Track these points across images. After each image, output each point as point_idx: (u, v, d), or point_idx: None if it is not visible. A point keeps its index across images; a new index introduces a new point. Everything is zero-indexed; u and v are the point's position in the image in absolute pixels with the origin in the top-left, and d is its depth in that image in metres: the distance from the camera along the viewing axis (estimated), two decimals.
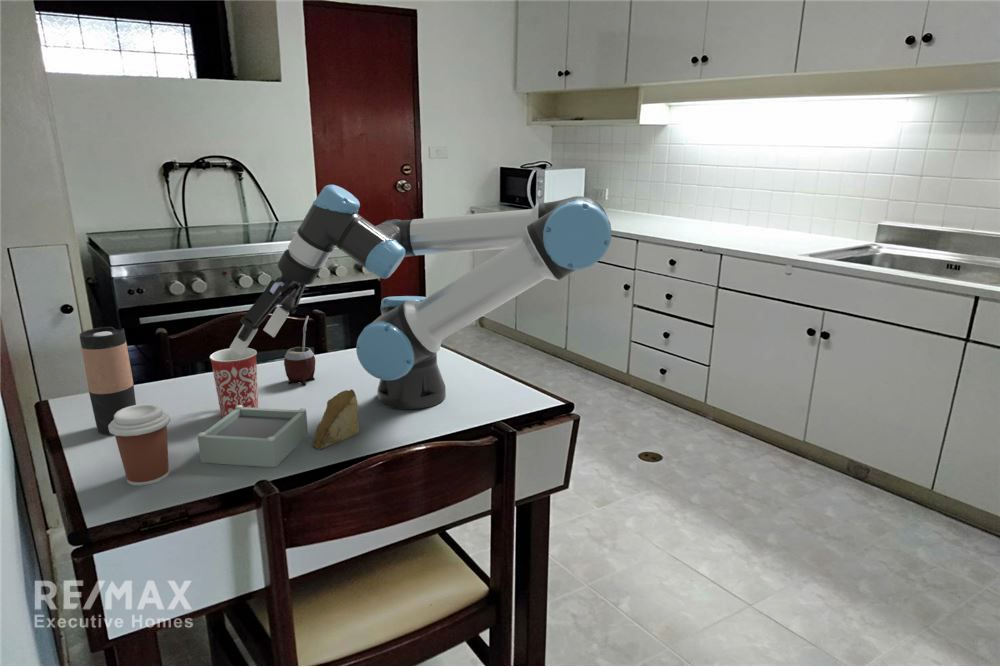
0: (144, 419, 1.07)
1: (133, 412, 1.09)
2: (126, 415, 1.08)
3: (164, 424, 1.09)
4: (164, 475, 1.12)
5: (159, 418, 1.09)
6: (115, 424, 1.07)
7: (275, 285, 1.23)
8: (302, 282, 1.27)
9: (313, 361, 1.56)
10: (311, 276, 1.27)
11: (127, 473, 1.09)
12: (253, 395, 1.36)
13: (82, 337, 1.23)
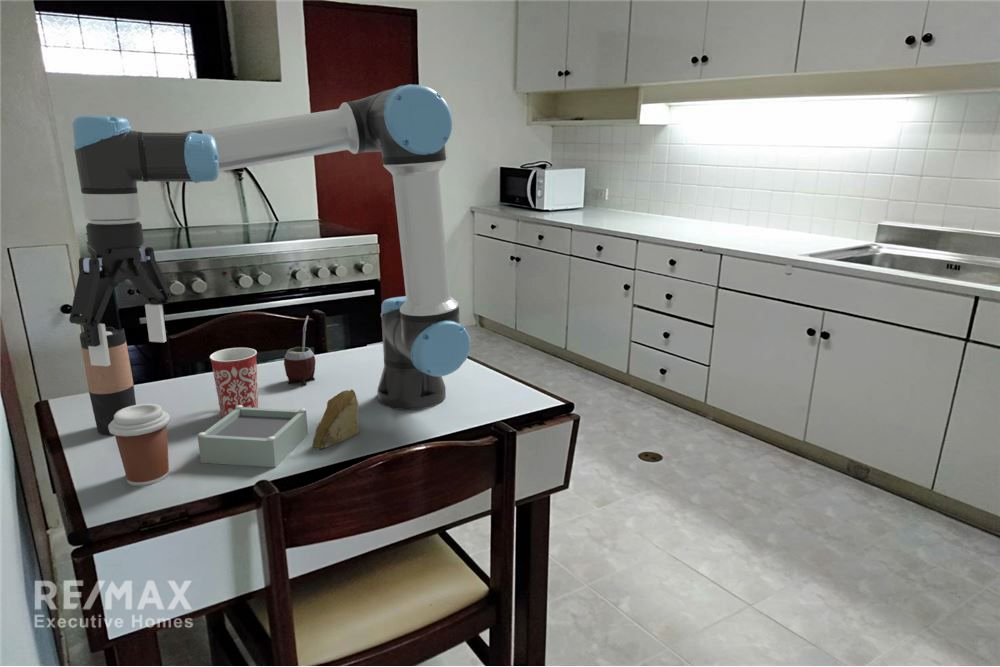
0: (144, 419, 1.07)
1: (133, 412, 1.09)
2: (126, 415, 1.08)
3: (164, 424, 1.09)
4: (164, 475, 1.12)
5: (159, 418, 1.09)
6: (115, 424, 1.07)
7: (85, 260, 0.97)
8: (122, 245, 1.00)
9: (313, 361, 1.56)
10: (127, 233, 1.00)
11: (127, 473, 1.09)
12: (253, 395, 1.36)
13: (82, 337, 1.23)
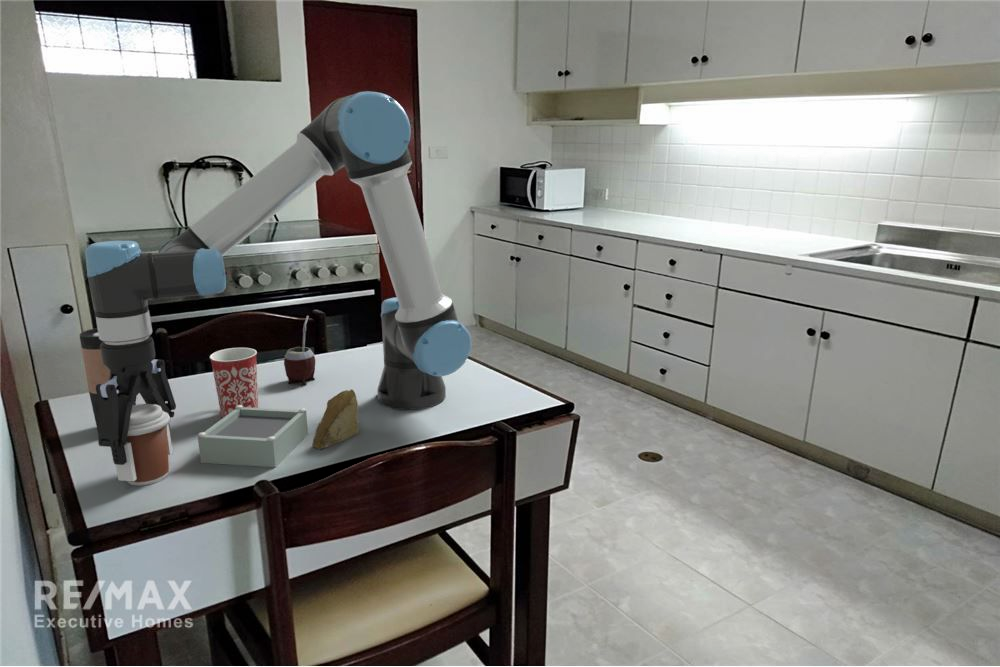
0: (144, 419, 1.07)
1: (133, 412, 1.09)
2: None
3: (164, 424, 1.09)
4: (164, 475, 1.12)
5: (159, 418, 1.09)
6: None
7: (102, 388, 1.01)
8: (135, 363, 1.04)
9: (313, 361, 1.56)
10: (140, 351, 1.04)
11: None
12: (253, 395, 1.36)
13: (82, 337, 1.23)
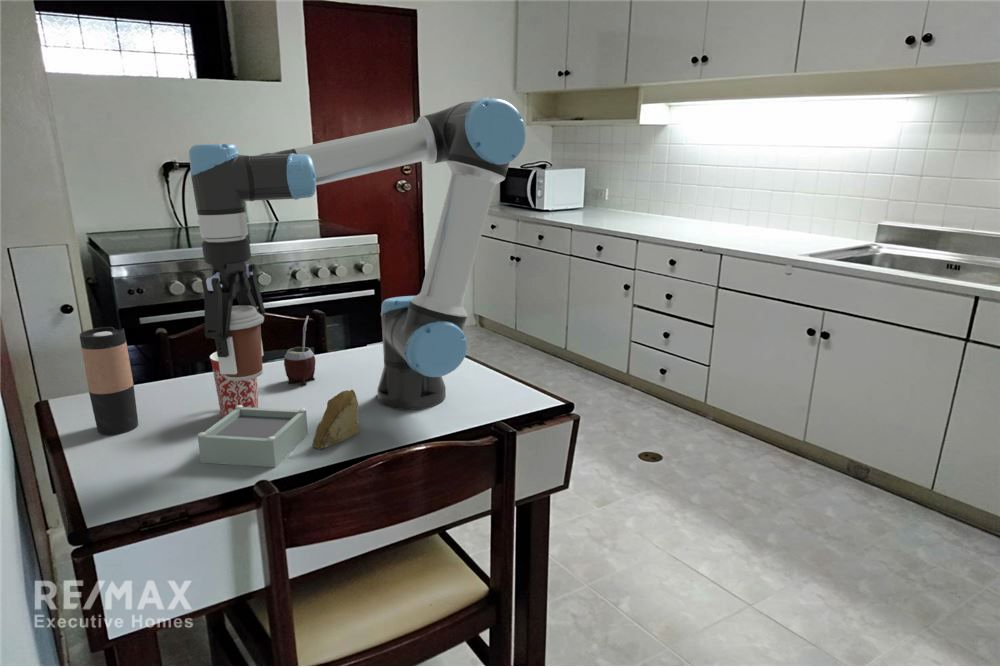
0: (243, 315, 1.13)
1: None
2: None
3: (260, 321, 1.15)
4: (259, 372, 1.18)
5: (255, 316, 1.15)
6: None
7: (208, 281, 1.07)
8: (236, 260, 1.10)
9: (313, 361, 1.56)
10: (240, 248, 1.10)
11: None
12: (253, 395, 1.36)
13: (82, 337, 1.23)
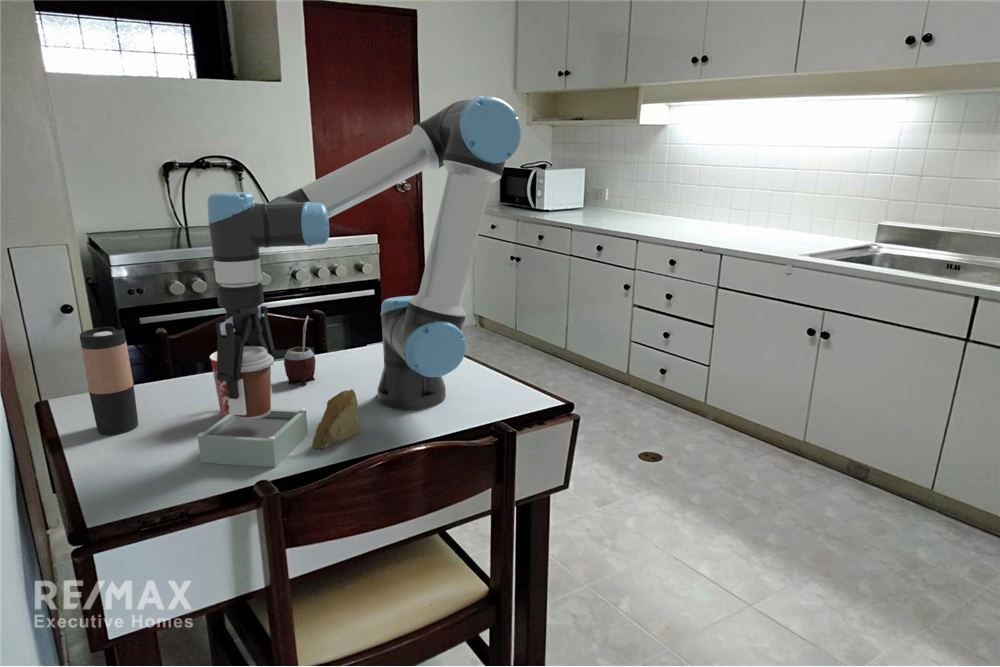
0: (254, 357, 1.16)
1: None
2: None
3: (270, 363, 1.18)
4: (268, 412, 1.20)
5: (266, 358, 1.18)
6: None
7: (221, 326, 1.10)
8: (249, 305, 1.13)
9: (313, 361, 1.56)
10: (254, 294, 1.13)
11: None
12: None
13: (82, 337, 1.23)
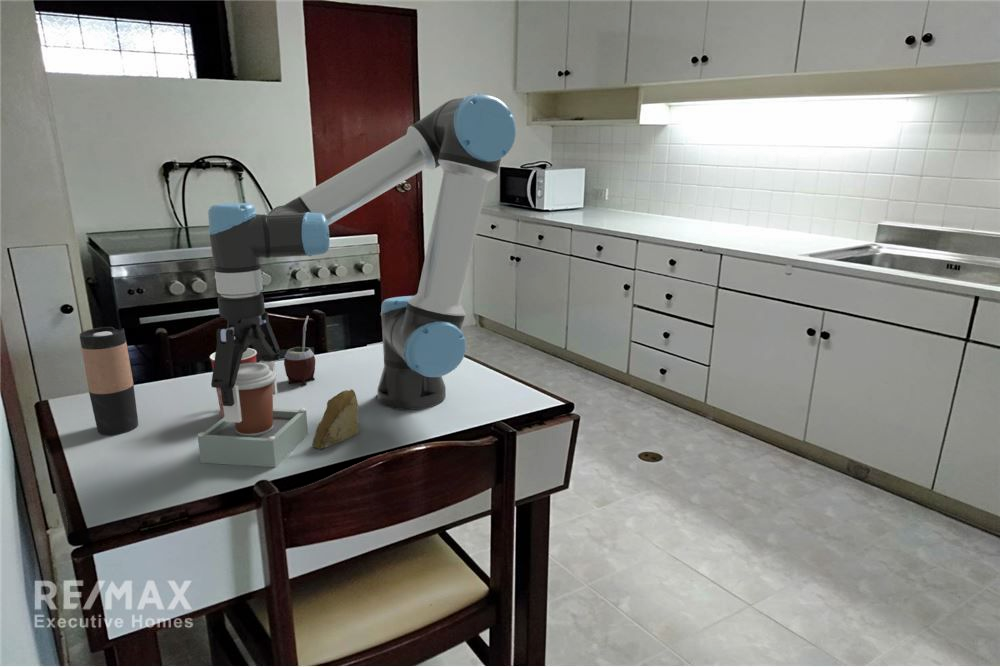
0: (256, 375, 1.16)
1: (244, 369, 1.19)
2: (238, 371, 1.18)
3: (272, 380, 1.19)
4: (270, 428, 1.21)
5: (268, 374, 1.19)
6: None
7: (222, 332, 1.10)
8: (250, 315, 1.13)
9: (313, 361, 1.56)
10: (255, 304, 1.14)
11: (238, 425, 1.19)
12: None
13: (82, 337, 1.23)
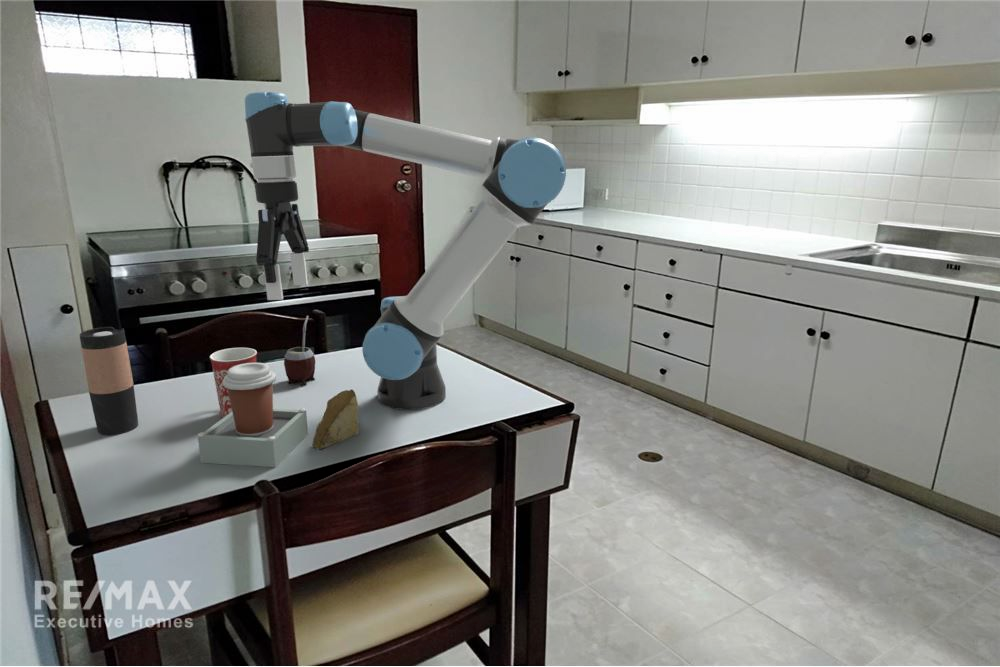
0: (256, 375, 1.16)
1: (244, 369, 1.19)
2: (238, 372, 1.18)
3: (272, 380, 1.19)
4: (270, 428, 1.21)
5: (268, 375, 1.18)
6: (230, 379, 1.16)
7: (264, 211, 1.18)
8: (287, 198, 1.21)
9: (313, 361, 1.56)
10: (291, 188, 1.22)
11: (238, 425, 1.19)
12: None
13: (82, 337, 1.23)
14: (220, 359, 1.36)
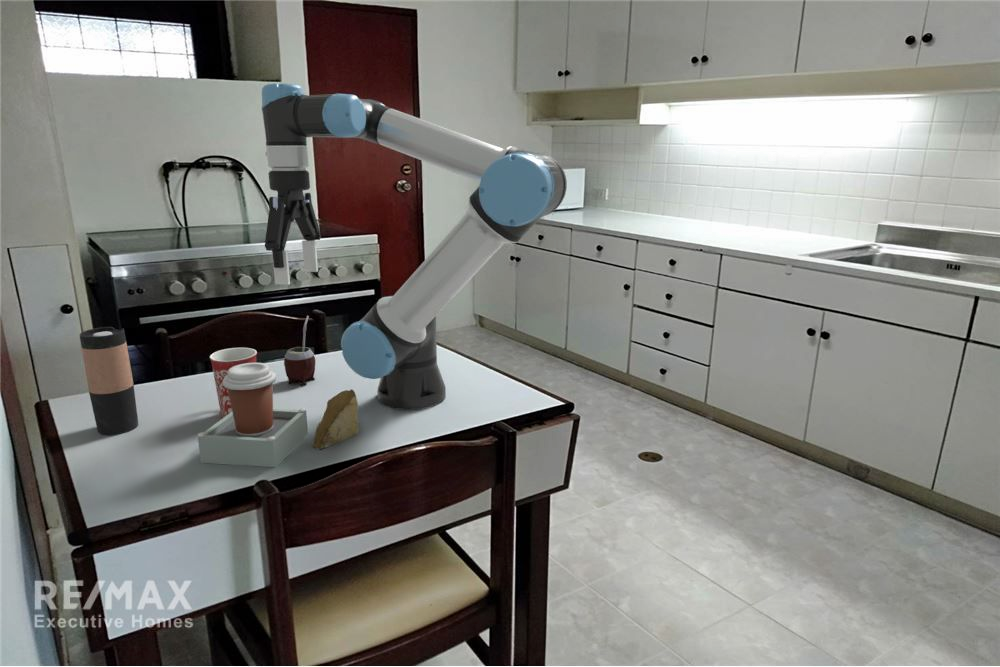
0: (256, 375, 1.16)
1: (244, 369, 1.19)
2: (238, 372, 1.18)
3: (272, 380, 1.19)
4: (270, 428, 1.21)
5: (268, 375, 1.18)
6: (230, 379, 1.16)
7: (274, 198, 1.22)
8: (298, 187, 1.26)
9: (313, 361, 1.56)
10: (302, 177, 1.26)
11: (238, 425, 1.19)
12: None
13: (82, 337, 1.23)
14: (220, 359, 1.36)
